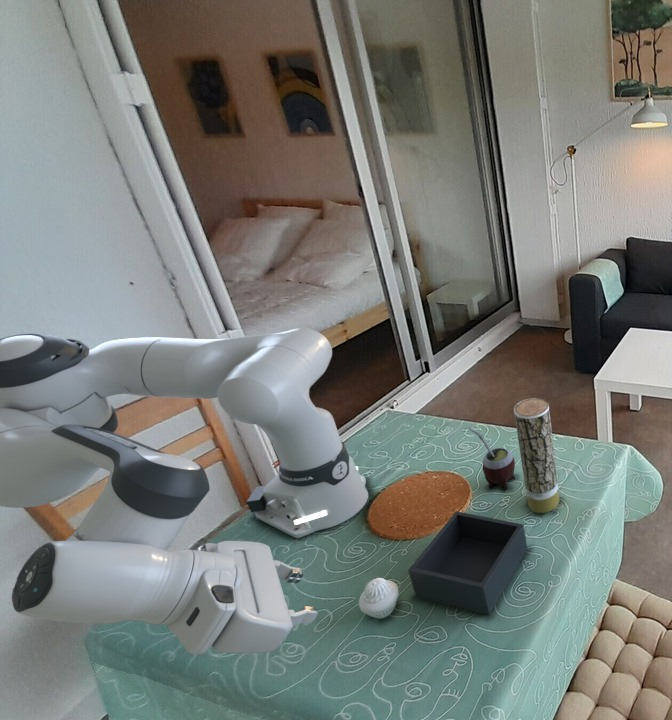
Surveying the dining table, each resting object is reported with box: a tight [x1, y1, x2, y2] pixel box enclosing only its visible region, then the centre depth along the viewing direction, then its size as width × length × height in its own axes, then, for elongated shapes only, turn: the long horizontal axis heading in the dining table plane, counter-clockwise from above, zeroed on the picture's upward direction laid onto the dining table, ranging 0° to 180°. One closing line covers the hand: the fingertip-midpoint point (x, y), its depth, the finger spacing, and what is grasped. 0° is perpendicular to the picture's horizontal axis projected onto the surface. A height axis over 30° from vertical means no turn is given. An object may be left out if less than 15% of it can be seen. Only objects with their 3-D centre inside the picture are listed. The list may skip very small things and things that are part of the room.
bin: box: [407, 510, 528, 616], centre depth 92 cm, size 15×15×7 cm
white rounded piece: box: [358, 577, 399, 620], centre depth 85 cm, size 6×6×7 cm
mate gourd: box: [467, 426, 516, 491], centre depth 113 cm, size 8×8×15 cm
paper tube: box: [513, 397, 560, 514], centre depth 104 cm, size 7×7×25 cm
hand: (307, 594), depth 76 cm, fingers open, 8 cm apart
